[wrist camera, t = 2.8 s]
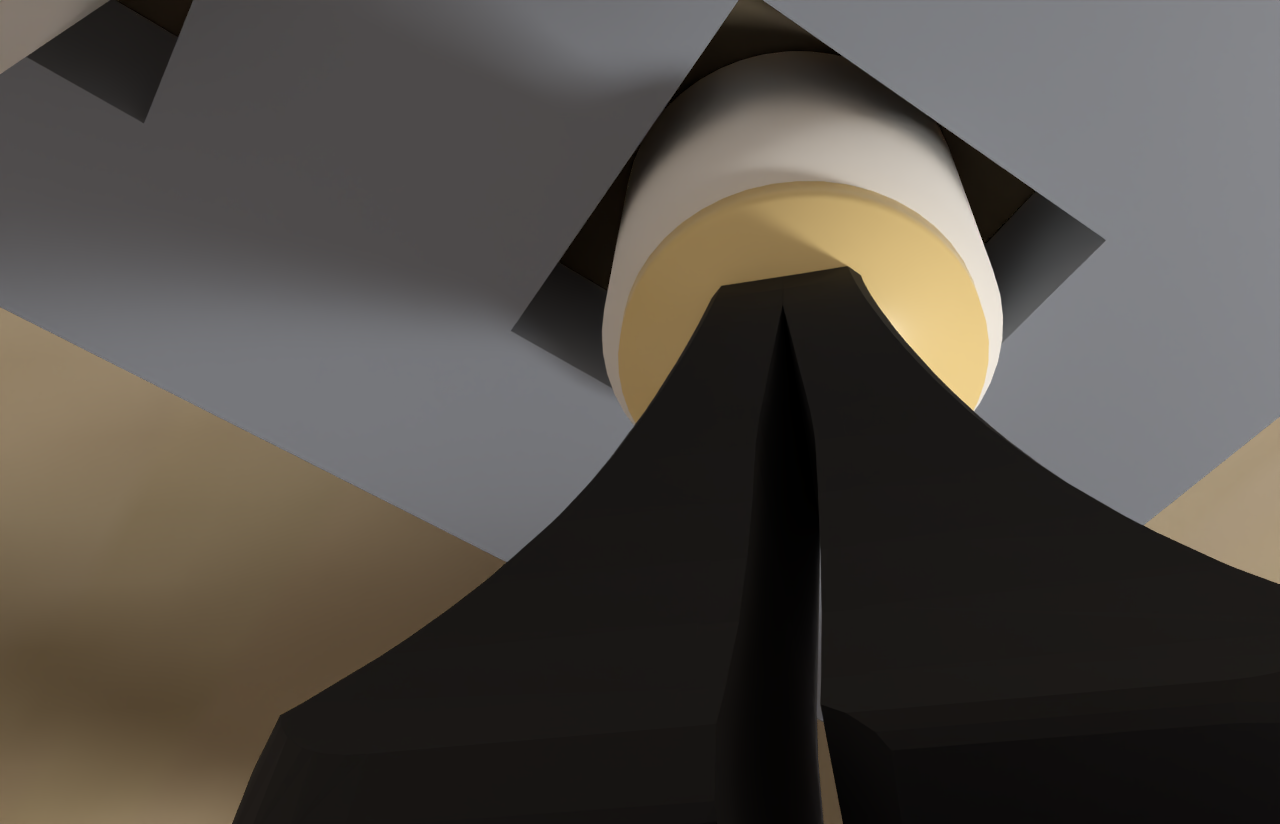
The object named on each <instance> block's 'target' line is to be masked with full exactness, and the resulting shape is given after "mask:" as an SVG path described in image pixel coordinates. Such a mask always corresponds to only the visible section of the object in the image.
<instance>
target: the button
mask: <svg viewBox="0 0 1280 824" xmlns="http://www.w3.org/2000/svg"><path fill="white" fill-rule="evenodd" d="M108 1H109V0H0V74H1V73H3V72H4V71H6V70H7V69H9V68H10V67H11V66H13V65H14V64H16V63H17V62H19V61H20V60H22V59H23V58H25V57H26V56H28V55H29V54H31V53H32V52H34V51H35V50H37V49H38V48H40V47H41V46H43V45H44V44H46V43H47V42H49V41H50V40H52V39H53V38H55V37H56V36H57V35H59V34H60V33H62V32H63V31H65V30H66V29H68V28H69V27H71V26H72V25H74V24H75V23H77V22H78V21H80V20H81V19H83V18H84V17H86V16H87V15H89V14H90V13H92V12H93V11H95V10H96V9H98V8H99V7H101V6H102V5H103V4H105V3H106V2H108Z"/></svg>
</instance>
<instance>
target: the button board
mask: <svg viewBox="0 0 1280 824" xmlns="http://www.w3.org/2000/svg"><path fill="white" fill-rule="evenodd" d="M763 1H765V2H766V3H768V4H769V5H770V6H772V7H773V8H775V9H776V10H778V11H779V12H780V13H782V14H783V15H785V16H786V17H788V18H789V19H790V20H792V21H793V22H795V23H796V24H798V25H799V26H801V27H802V28H803V29H805V30H806V31H808V32H809V33H811V34H812V35H813V36H815V37H816V38H818V39H819V40H821V41H822V42H823V43H825V44H826V45H828V46H829V47H831V48H832V49H833V50H835V51H836V52H838V53H839V54H841V55H842V56H843V57H845V58H846V59H848V60H849V61H851V62H852V63H853V64H855V65H856V66H858V67H859V68H861V69H862V70H863V71H865V72H866V73H868V74H869V75H871V76H872V77H873V78H875V79H876V80H878V81H879V82H881V83H882V84H883V85H885V86H886V87H888V88H889V89H891V90H892V91H894V92H895V93H896V94H898V95H899V96H901V97H902V98H904V99H905V100H906V101H908V102H909V103H911V104H912V105H914V106H915V107H916V108H918V109H919V110H921V111H922V112H924V113H925V114H926V115H928V116H929V117H931V118H932V119H934V120H935V121H936V122H938V123H939V124H941V125H942V126H944V127H945V128H946V129H948V130H949V131H951V132H952V133H954V134H955V135H956V136H958V137H959V138H961V139H962V140H964V141H965V142H966V143H968V144H969V145H971V146H972V147H974V148H975V149H976V150H978V151H979V152H981V153H982V154H984V155H985V156H987V157H988V158H989V159H991V160H992V161H994V162H995V163H997V164H998V165H999V166H1001V167H1002V168H1004V169H1005V170H1007V171H1008V172H1009V173H1011V174H1012V175H1014V176H1015V177H1017V178H1018V179H1019V180H1021V181H1022V182H1024V183H1025V184H1027V185H1028V186H1029V187H1031V188H1032V189H1034V190H1035V192H1034V194H1033V195H1032V196H1031V197H1030V198H1029V199H1028V200H1027V201H1026V202H1025V203H1024V204H1023V205H1022V206H1021V207H1020V208H1019V209H1018V211H1017V212H1016V213H1015V214H1014V215H1013V216H1012V217H1011V218H1010V219H1009V220H1008V221H1007V222H1006V223H1005V224H1004V225H1003V226H1002V228H1001V229H1000V230H999V231H998V232H997V233H996V234H995V235H994V236H993V237H992V238H991V239H990V240H989V241H988V242H987V243H986V244H985V246H984V247H985V250H986V252H987V255H988V258H989V261H990V264H991V266H992V269H993V272H994V275H995V279H996V282H997V285H998V289H999V292H1000V297H1001V305H1002V313H1003V332H1002V343H1001V349H1000V354H999V359H998V363H997V366H996V369H995V372H994V374H993V377H992V380H991V383H990V385H989V387H988V389H987V391H986V392H985V394H984V396H983V398H982V400H981V402H980V404H979V405H978V406H977V408H976V409H975V411H974V412H975V413H976V414H977V415H979V416H980V417H981V418H982V419H983V420H984V421H986V422H987V423H988V424H989V425H990V426H991V427H993V428H994V429H995V430H996V431H997V432H999V433H1000V434H1001V435H1002V436H1004V437H1005V438H1006V439H1007V440H1009V441H1010V442H1011V443H1012V444H1014V445H1015V446H1016V447H1018V448H1019V449H1020V450H1022V451H1023V452H1024V453H1026V454H1027V455H1028V456H1030V457H1031V458H1032V459H1034V460H1035V461H1036V462H1038V463H1039V464H1041V465H1042V466H1043V467H1045V468H1046V469H1048V470H1049V471H1051V472H1052V473H1054V474H1055V475H1057V476H1058V477H1060V478H1061V479H1063V480H1064V481H1066V482H1067V483H1069V484H1070V485H1072V486H1074V487H1076V488H1077V489H1079V490H1081V491H1083V492H1084V493H1086V494H1088V495H1089V496H1091V497H1093V498H1095V499H1096V500H1098V501H1100V502H1102V503H1103V504H1105V505H1107V506H1109V507H1110V508H1112V509H1114V510H1115V511H1117V512H1119V513H1121V514H1122V515H1124V516H1126V517H1128V518H1130V519H1132V520H1134V521H1135V522H1137V523H1139V524H1141V525H1144V524H1146V523H1147V522H1148V521H1149V520H1151V519H1152V518H1153V517H1154V516H1156V515H1157V514H1158V513H1159V512H1161V511H1162V510H1163V509H1164V508H1166V507H1167V506H1168V505H1169V504H1171V503H1172V502H1173V501H1174V500H1176V499H1177V498H1178V497H1179V496H1181V495H1182V494H1183V493H1184V492H1186V491H1187V490H1188V489H1189V488H1191V487H1192V486H1193V485H1194V484H1196V483H1197V482H1198V481H1199V480H1201V479H1202V478H1203V477H1205V476H1206V475H1207V474H1208V473H1210V472H1211V471H1212V470H1213V469H1215V468H1216V467H1217V466H1218V465H1220V464H1221V463H1222V462H1223V461H1225V460H1226V459H1227V458H1228V457H1230V456H1231V455H1232V454H1233V453H1235V452H1236V451H1237V450H1238V449H1240V448H1241V447H1242V446H1243V445H1245V444H1246V443H1247V442H1248V441H1250V440H1251V439H1252V438H1253V437H1255V436H1256V435H1257V434H1258V433H1260V432H1261V431H1262V430H1263V429H1265V428H1266V427H1267V426H1268V425H1270V424H1271V423H1272V422H1273V421H1275V420H1276V419H1277V418H1278V417H1280V0H763ZM737 2H738V0H193V2H192V5H191V7H190V10H189V12H188V15H187V17H186V20H185V22H184V25H183V27H182V30H181V32H180V35H179V37H177V36H175V35H173V34H171V33H170V32H168V31H166V30H165V29H163V28H161V27H160V26H158V25H156V24H155V23H153V22H151V21H149V20H148V19H146V18H144V17H143V16H141V15H139V14H138V13H136V12H134V11H133V10H131V9H129V8H127V7H126V6H124V5H122V4H121V3H119V2H117V1H116V0H109V1H108V2H106V3H105V4H103V5H102V6H101V7H99V8H98V9H96V10H95V11H93V12H92V13H90V14H89V15H87V16H86V17H84V18H83V19H81V20H80V21H78V22H77V23H75V24H74V25H72V26H71V27H69V28H68V29H66V30H65V31H63V32H62V33H60V34H59V35H57V36H56V37H55V38H53V39H52V40H50V41H49V42H47V43H46V44H44V45H43V46H41V47H40V48H38V49H37V50H35V51H34V52H32V53H31V54H29V55H28V56H26V57H25V58H23V59H22V60H20V61H19V62H17V63H16V64H14V65H13V66H11V67H10V68H9V69H7V70H6V71H4V72H3V73H1V74H0V307H1V308H3V309H5V310H7V311H9V312H11V313H13V314H15V315H17V316H19V317H21V318H23V319H25V320H27V321H29V322H31V323H33V324H35V325H37V326H39V327H41V328H43V329H45V330H47V331H49V332H51V333H53V334H55V335H57V336H59V337H61V338H63V339H65V340H67V341H69V342H71V343H73V344H75V345H77V346H79V347H81V348H83V349H84V350H86V351H88V352H90V353H92V354H94V355H96V356H98V357H100V358H102V359H104V360H106V361H108V362H110V363H112V364H114V365H116V366H118V367H120V368H122V369H124V370H126V371H128V372H130V373H132V374H134V375H136V376H138V377H140V378H142V379H144V380H146V381H148V382H150V383H152V384H154V385H156V386H158V387H160V388H162V389H164V390H166V391H168V392H170V393H172V394H174V395H176V396H178V397H180V398H182V399H184V400H186V401H188V402H190V403H192V404H194V405H196V406H198V407H200V408H202V409H204V410H206V411H208V412H209V413H211V414H213V415H215V416H217V417H219V418H221V419H223V420H225V421H227V422H229V423H231V424H233V425H235V426H237V427H239V428H241V429H243V430H245V431H247V432H249V433H251V434H253V435H255V436H257V437H259V438H261V439H263V440H265V441H267V442H269V443H271V444H273V445H275V446H277V447H279V448H281V449H283V450H285V451H287V452H289V453H291V454H293V455H295V456H297V457H299V458H301V459H303V460H305V461H307V462H309V463H311V464H313V465H315V466H317V467H319V468H321V469H323V470H325V471H327V472H329V473H331V474H333V475H334V476H336V477H338V478H340V479H342V480H344V481H346V482H348V483H350V484H352V485H354V486H356V487H358V488H360V489H362V490H364V491H366V492H368V493H370V494H372V495H374V496H376V497H378V498H380V499H382V500H384V501H386V502H388V503H390V504H392V505H394V506H396V507H398V508H400V509H402V510H404V511H406V512H408V513H410V514H412V515H414V516H416V517H418V518H420V519H422V520H424V521H426V522H428V523H430V524H432V525H434V526H436V527H438V528H440V529H442V530H444V531H446V532H448V533H450V534H452V535H454V536H456V537H458V538H459V539H461V540H463V541H465V542H467V543H469V544H471V545H473V546H475V547H477V548H479V549H481V550H483V551H485V552H487V553H489V554H491V555H493V556H495V557H497V558H499V559H501V560H503V561H505V562H508V561H509V560H510V559H511V558H512V557H513V556H515V555H516V554H517V553H518V552H519V551H520V550H521V549H522V548H524V547H525V546H526V545H527V544H528V543H529V542H530V541H531V540H533V539H534V538H535V537H536V536H537V535H538V534H539V533H540V532H542V531H543V530H544V529H545V528H546V527H547V526H548V525H549V524H551V523H552V522H553V521H554V520H555V519H556V518H557V517H558V516H559V515H560V514H561V513H562V512H563V511H564V510H565V509H566V507H567V506H568V505H569V504H570V503H571V502H572V501H573V500H574V499H575V498H576V497H577V496H578V495H579V494H580V493H581V492H582V491H583V489H584V488H585V487H586V486H587V485H588V484H589V483H590V482H591V480H592V479H593V478H594V477H595V476H596V475H597V473H598V472H599V471H600V470H601V468H602V467H603V466H604V465H605V464H606V462H607V461H608V460H609V459H610V457H611V456H612V455H613V454H614V452H615V451H616V450H617V448H618V447H619V445H620V444H621V443H622V441H623V440H624V439H625V437H626V436H627V435H628V433H629V432H630V431H631V429H632V428H633V427H634V425H633V424H632V422H631V421H630V420H629V418H628V417H627V415H626V414H625V413H624V411H623V409H622V407H621V405H620V403H619V402H618V400H617V398H616V396H615V394H614V391H613V389H612V386H611V383H610V380H609V378H608V375H607V371H606V366H605V361H604V356H603V344H602V325H603V316H604V308H605V302H606V297H607V292H608V291H606V290H605V289H603V288H601V287H600V286H598V285H596V284H595V283H593V282H591V281H589V280H588V279H586V278H584V277H583V276H581V275H579V274H578V273H576V272H574V271H573V270H571V269H569V268H567V267H566V266H564V265H562V264H561V263H559V260H560V259H561V257H562V256H563V254H564V253H565V251H566V250H567V248H568V247H569V246H570V244H571V243H572V241H573V240H574V238H575V237H576V235H577V234H578V232H579V231H580V230H581V228H582V227H583V225H584V224H585V222H586V221H587V219H588V218H589V217H590V215H591V214H592V212H593V211H594V209H595V208H596V206H597V205H598V203H599V202H600V201H601V199H602V198H603V196H604V195H605V193H606V192H607V190H608V189H609V187H610V186H611V185H612V183H613V182H614V180H615V179H616V177H617V176H618V174H619V173H620V172H621V170H622V169H623V167H624V166H625V164H626V163H627V161H628V160H629V158H630V157H631V156H632V154H633V153H634V151H635V150H636V148H637V147H638V145H639V144H640V142H641V141H642V140H643V138H644V137H645V135H646V134H647V132H648V131H649V129H650V128H651V126H652V125H653V124H654V122H655V121H656V119H657V118H658V116H659V115H660V113H661V112H662V111H663V109H664V108H665V106H666V105H667V103H668V102H669V100H670V99H671V97H672V96H673V95H674V93H675V92H676V90H677V89H678V87H679V86H680V84H681V83H682V81H683V80H684V79H685V77H686V76H687V74H688V73H689V71H690V70H691V68H692V67H693V66H694V64H695V63H696V61H697V60H698V58H699V57H700V55H701V54H702V52H703V51H704V50H705V48H706V47H707V45H708V44H709V42H710V41H711V39H712V38H713V36H714V35H715V34H716V32H717V31H718V29H719V28H720V26H721V25H722V23H723V22H724V20H725V19H726V18H727V16H728V15H729V13H730V12H731V10H732V9H733V7H734V6H735V5H736V3H737ZM821 625H822V608H821V556H820V586H819V635H818V683H817V719H819V720H821V721H823V716H822V711H821V706H820V695H821Z"/></svg>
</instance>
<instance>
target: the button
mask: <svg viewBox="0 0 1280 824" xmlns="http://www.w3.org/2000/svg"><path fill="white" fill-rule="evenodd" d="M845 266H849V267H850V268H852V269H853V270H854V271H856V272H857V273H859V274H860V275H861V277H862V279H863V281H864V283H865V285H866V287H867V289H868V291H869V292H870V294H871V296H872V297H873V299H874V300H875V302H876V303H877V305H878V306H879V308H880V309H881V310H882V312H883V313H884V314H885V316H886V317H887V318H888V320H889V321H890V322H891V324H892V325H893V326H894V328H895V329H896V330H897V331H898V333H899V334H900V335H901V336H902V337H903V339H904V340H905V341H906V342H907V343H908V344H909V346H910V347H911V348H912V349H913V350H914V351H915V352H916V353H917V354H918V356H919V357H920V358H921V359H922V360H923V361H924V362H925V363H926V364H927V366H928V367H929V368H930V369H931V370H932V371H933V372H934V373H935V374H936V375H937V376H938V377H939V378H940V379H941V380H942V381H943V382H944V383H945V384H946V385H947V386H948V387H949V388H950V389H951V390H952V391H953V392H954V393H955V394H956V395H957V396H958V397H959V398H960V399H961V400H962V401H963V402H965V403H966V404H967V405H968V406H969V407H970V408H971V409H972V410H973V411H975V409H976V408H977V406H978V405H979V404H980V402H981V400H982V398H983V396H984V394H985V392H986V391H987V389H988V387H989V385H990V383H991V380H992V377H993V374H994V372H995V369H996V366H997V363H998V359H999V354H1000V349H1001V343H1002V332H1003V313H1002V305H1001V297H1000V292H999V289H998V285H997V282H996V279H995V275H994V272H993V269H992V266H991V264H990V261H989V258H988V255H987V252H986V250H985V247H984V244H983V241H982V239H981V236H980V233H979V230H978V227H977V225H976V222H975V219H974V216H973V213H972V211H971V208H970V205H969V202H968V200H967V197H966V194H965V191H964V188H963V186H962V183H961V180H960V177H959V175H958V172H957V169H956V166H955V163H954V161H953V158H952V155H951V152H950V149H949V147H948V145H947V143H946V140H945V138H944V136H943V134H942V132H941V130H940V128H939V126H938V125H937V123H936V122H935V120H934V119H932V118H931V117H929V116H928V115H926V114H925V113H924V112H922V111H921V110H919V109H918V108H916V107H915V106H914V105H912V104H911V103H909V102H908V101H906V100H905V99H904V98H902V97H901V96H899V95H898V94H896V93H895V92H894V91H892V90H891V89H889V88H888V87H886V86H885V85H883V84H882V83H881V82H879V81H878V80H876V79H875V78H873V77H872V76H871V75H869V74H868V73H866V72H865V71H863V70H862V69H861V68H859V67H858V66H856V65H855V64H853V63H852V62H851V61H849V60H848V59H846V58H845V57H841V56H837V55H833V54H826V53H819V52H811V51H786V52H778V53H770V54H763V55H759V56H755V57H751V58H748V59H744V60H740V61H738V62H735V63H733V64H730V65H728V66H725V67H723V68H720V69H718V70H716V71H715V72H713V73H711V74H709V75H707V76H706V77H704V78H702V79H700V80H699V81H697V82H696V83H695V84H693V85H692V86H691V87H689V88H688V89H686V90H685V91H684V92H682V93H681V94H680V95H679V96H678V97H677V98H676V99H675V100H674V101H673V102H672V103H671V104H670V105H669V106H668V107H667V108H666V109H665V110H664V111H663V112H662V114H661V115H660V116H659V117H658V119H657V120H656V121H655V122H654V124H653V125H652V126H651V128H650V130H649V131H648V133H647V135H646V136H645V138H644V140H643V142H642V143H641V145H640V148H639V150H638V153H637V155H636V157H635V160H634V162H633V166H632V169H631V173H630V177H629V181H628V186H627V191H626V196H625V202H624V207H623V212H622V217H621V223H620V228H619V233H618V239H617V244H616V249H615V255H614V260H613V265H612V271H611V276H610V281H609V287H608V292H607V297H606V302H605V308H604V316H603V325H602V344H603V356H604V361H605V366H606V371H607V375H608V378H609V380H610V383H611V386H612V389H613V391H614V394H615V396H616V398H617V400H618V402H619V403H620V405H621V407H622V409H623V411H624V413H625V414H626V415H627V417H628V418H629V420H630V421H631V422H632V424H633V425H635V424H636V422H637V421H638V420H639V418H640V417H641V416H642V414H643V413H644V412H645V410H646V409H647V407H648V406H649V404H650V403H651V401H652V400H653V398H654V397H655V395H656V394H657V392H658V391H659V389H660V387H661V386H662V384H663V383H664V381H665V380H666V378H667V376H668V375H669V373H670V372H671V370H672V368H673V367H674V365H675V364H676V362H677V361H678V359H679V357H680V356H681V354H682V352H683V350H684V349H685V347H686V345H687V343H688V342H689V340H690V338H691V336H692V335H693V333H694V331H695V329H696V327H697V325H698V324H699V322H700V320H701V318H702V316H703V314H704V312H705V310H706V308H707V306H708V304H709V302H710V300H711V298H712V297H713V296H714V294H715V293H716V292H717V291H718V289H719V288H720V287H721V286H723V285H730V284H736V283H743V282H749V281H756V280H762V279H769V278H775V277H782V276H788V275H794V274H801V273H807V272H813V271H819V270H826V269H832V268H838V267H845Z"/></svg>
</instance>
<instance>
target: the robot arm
mask: <svg viewBox="0 0 1280 824" xmlns="http://www.w3.org/2000/svg"><path fill="white" fill-rule="evenodd" d="M820 556H821V608H822V625H821V695H820V706H821V711H822V716H823V722H824V727H825V732H826V737H827V742H828V748H829V753H830V758H831V763H832V768H833V774H834V779H835V784H836V789H837V794H838V800H839V805H840V810H841V815H842V821H843V824H1280V584H1277V583H1274V582H1272V581H1269V580H1266V579H1264V578H1261V577H1258V576H1255V575H1253V574H1250V573H1247V572H1245V571H1242V570H1239V569H1236V568H1234V567H1232V566H1229V565H1227V564H1225V563H1222V562H1220V561H1218V560H1215V559H1213V558H1211V557H1209V556H1207V555H1204V554H1202V553H1200V552H1198V551H1196V550H1194V549H1191V548H1189V547H1187V546H1185V545H1183V544H1181V543H1178V542H1176V541H1174V540H1172V539H1170V538H1168V537H1165V536H1163V535H1161V534H1159V533H1157V532H1155V531H1153V530H1151V529H1149V528H1147V527H1145V526H1143V525H1141V524H1139V523H1137V522H1135V521H1134V520H1132V519H1130V518H1128V517H1126V516H1124V515H1122V514H1121V513H1119V512H1117V511H1115V510H1114V509H1112V508H1110V507H1109V506H1107V505H1105V504H1103V503H1102V502H1100V501H1098V500H1096V499H1095V498H1093V497H1091V496H1089V495H1088V494H1086V493H1084V492H1083V491H1081V490H1079V489H1077V488H1076V487H1074V486H1072V485H1070V484H1069V483H1067V482H1066V481H1064V480H1063V479H1061V478H1060V477H1058V476H1057V475H1055V474H1054V473H1052V472H1051V471H1049V470H1048V469H1046V468H1045V467H1043V466H1042V465H1041V464H1039V463H1038V462H1036V461H1035V460H1034V459H1032V458H1031V457H1030V456H1028V455H1027V454H1026V453H1024V452H1023V451H1022V450H1020V449H1019V448H1018V447H1016V446H1015V445H1014V444H1012V443H1011V442H1010V441H1009V440H1007V439H1006V438H1005V437H1004V436H1002V435H1001V434H1000V433H999V432H997V431H996V430H995V429H994V428H993V427H991V426H990V425H989V424H988V423H987V422H986V421H984V420H983V419H982V418H981V417H980V416H979V415H977V414H976V413H975V412H974V411H973V410H972V409H971V408H970V407H969V406H968V405H967V404H966V403H965V402H963V401H962V400H961V399H960V398H959V397H958V396H957V395H956V394H955V393H954V392H953V391H952V390H951V389H950V388H949V387H948V386H947V385H946V384H945V383H944V382H943V381H942V380H941V379H940V378H939V377H938V376H937V375H936V374H935V373H934V372H933V371H932V370H931V369H930V368H929V367H928V366H927V364H926V363H925V362H924V361H923V360H922V359H921V358H920V357H919V356H918V354H917V353H916V352H915V351H914V350H913V349H912V348H911V347H910V346H909V344H908V343H907V342H906V341H905V340H904V339H903V337H902V336H901V335H900V334H899V333H898V331H897V330H896V329H895V328H894V326H893V325H892V324H891V322H890V321H889V320H888V318H887V317H886V316H885V314H884V313H883V312H882V310H881V309H880V308H879V306H878V305H877V303H876V302H875V300H874V299H873V297H872V296H871V294H870V292H869V291H868V289H867V287H866V285H865V283H864V281H863V279H862V277H861V275H860V274H859V273H857V272H856V271H854V270H853V269H852V268H850V267H849V266H845V267H838V268H832V269H826V270H819V271H813V272H807V273H801V274H794V275H788V276H782V277H775V278H769V279H762V280H756V281H749V282H743V283H736V284H730V285H723V286H721V287H720V288H719V289H718V291H717V292H716V293H715V294H714V296H713V297H712V298H711V300H710V302H709V304H708V306H707V308H706V310H705V312H704V314H703V316H702V318H701V320H700V322H699V324H698V325H697V327H696V329H695V331H694V333H693V335H692V336H691V338H690V340H689V342H688V343H687V345H686V347H685V349H684V350H683V352H682V354H681V356H680V357H679V359H678V361H677V362H676V364H675V365H674V367H673V368H672V370H671V372H670V373H669V375H668V376H667V378H666V380H665V381H664V383H663V384H662V386H661V387H660V389H659V391H658V392H657V394H656V395H655V397H654V398H653V400H652V401H651V403H650V404H649V406H648V407H647V409H646V410H645V412H644V413H643V414H642V416H641V417H640V418H639V420H638V421H637V422H636V424H635V425H634V427H633V428H632V429H631V431H630V432H629V433H628V435H627V436H626V437H625V439H624V440H623V441H622V443H621V444H620V445H619V447H618V448H617V450H616V451H615V452H614V454H613V455H612V456H611V457H610V459H609V460H608V461H607V462H606V464H605V465H604V466H603V467H602V468H601V470H600V471H599V472H598V473H597V475H596V476H595V477H594V478H593V479H592V480H591V482H590V483H589V484H588V485H587V486H586V487H585V488H584V489H583V491H582V492H581V493H580V494H579V495H578V496H577V497H576V498H575V499H574V500H573V501H572V502H571V503H570V504H569V505H568V506H567V507H566V509H565V510H564V511H563V512H562V513H561V514H560V515H559V516H558V517H557V518H556V519H555V520H554V521H553V522H552V523H551V524H549V525H548V526H547V527H546V528H545V529H544V530H543V531H542V532H540V533H539V534H538V535H537V536H536V537H535V538H534V539H533V540H531V541H530V542H529V543H528V544H527V545H526V546H525V547H524V548H522V549H521V550H520V551H519V552H518V553H517V554H516V555H515V556H513V557H512V558H511V559H510V560H509V561H508V562H507V563H506V564H504V565H503V566H502V567H501V568H500V569H499V570H498V571H497V572H495V573H494V574H493V575H492V576H491V577H490V578H488V579H487V580H486V581H485V582H483V583H482V584H481V585H480V586H478V587H477V588H476V589H475V590H473V591H472V592H471V593H469V594H468V595H467V596H465V597H464V598H463V599H462V600H460V601H459V602H458V603H456V604H455V605H454V606H452V607H451V608H450V609H448V610H447V611H446V612H444V613H443V614H442V615H440V616H439V617H437V618H436V619H434V620H433V621H432V622H430V623H429V624H427V625H426V626H425V627H423V628H422V629H420V630H419V631H418V632H416V633H415V634H413V635H412V636H410V637H409V638H408V639H406V640H405V641H403V642H402V643H400V644H399V645H397V646H396V647H394V648H392V649H391V650H389V651H388V652H386V653H385V654H383V655H382V656H380V657H379V658H377V659H375V660H374V661H372V662H370V663H369V664H367V665H365V666H364V667H362V668H360V669H359V670H357V671H355V672H354V673H352V674H350V675H349V676H347V677H345V678H344V679H342V680H340V681H339V682H337V683H335V684H334V685H332V686H330V687H329V688H327V689H325V690H324V691H322V692H320V693H319V694H317V695H315V696H314V697H312V698H310V699H309V700H307V701H305V702H304V703H302V704H300V705H298V706H297V707H295V708H293V709H291V710H289V711H288V712H286V713H284V714H282V715H280V717H279V719H278V721H277V723H276V725H275V727H274V729H273V731H272V733H271V735H270V737H269V739H268V742H267V744H266V746H265V748H264V750H263V752H262V754H261V756H260V758H259V760H258V762H257V764H256V766H255V768H254V770H253V772H252V775H251V777H250V780H249V782H248V785H247V787H246V790H245V793H244V795H243V798H242V800H241V803H240V805H239V808H238V810H237V813H236V815H235V818H234V820H233V823H232V824H823V812H822V800H821V788H820V776H819V764H818V739H817V683H818V635H819V586H820Z"/></svg>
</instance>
